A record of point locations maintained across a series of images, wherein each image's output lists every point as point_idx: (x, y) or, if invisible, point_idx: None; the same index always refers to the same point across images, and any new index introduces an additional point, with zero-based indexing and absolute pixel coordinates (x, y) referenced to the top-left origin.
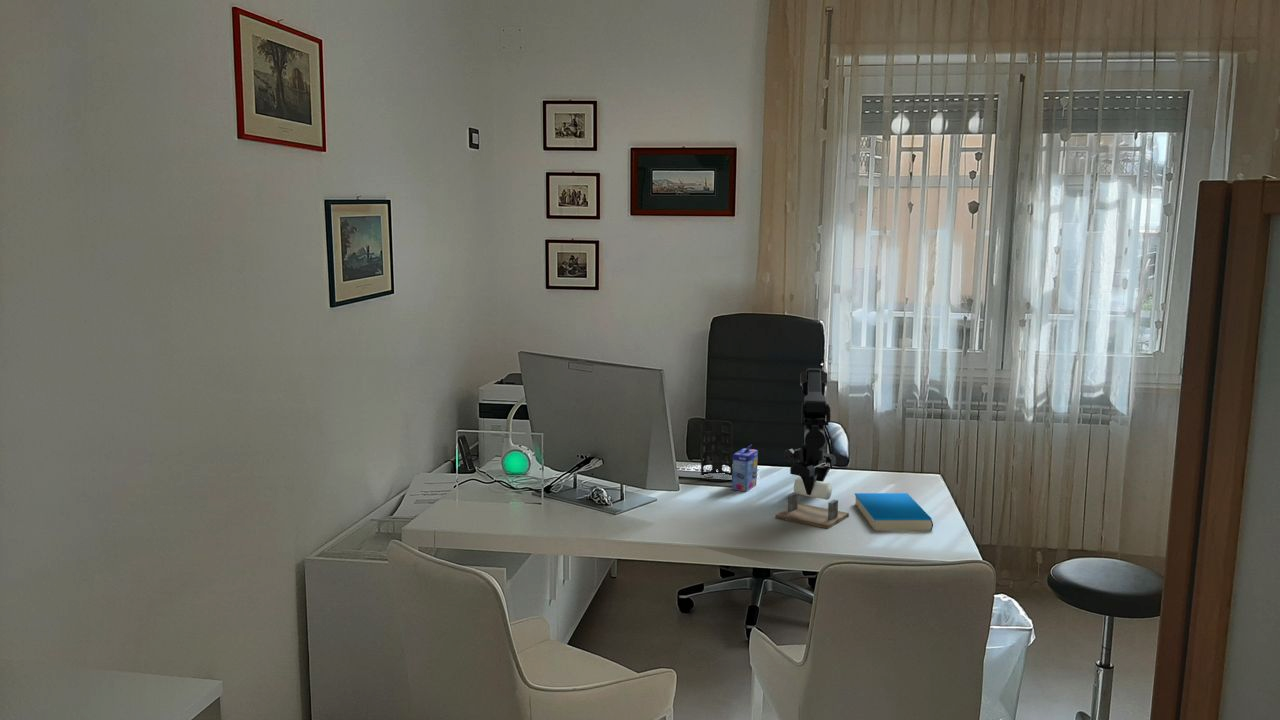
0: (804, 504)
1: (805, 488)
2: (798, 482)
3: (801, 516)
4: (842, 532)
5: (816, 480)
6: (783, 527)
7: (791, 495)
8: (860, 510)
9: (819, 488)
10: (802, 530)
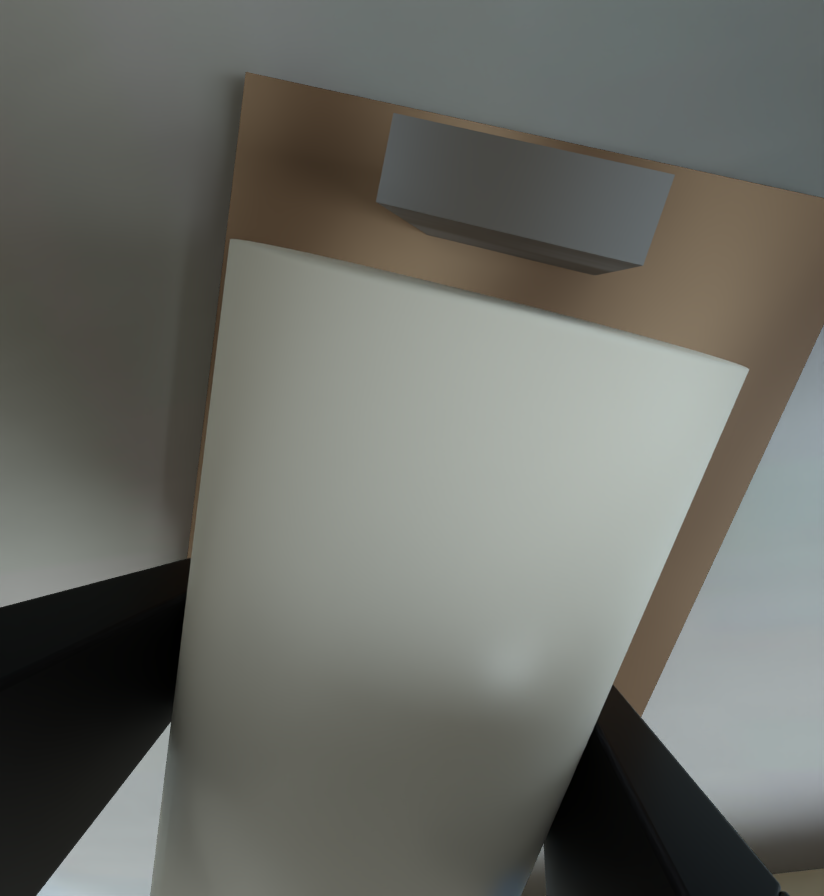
0: (814, 325)
1: (109, 587)
2: (214, 391)
3: None
4: (167, 739)
5: (609, 885)
6: (31, 274)
7: (387, 198)
8: (816, 874)
9: (153, 872)
10: (52, 456)
